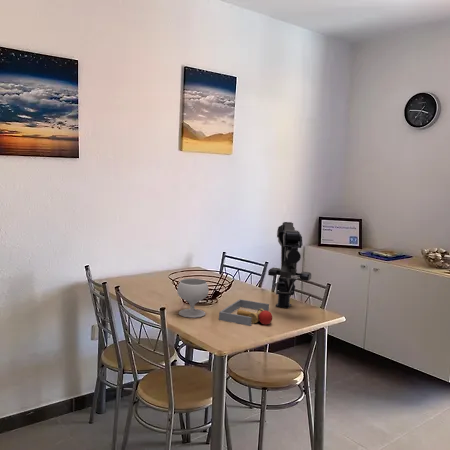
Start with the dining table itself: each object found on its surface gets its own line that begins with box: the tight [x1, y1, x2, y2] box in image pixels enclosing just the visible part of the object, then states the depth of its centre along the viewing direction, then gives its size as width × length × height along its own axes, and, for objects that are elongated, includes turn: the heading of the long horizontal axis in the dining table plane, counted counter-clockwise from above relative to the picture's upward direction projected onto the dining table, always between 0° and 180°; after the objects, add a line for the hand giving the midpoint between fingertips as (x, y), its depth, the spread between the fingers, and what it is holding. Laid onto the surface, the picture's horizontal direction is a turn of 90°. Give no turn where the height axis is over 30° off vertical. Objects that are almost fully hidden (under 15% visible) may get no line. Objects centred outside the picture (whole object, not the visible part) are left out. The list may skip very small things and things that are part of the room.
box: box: [218, 298, 270, 327], centre depth 209 cm, size 24×15×4 cm, turn 156°
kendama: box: [236, 308, 273, 326], centre depth 203 cm, size 8×6×18 cm
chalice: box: [176, 277, 210, 319], centre depth 207 cm, size 14×14×15 cm
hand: (288, 292), depth 210 cm, fingers closed
